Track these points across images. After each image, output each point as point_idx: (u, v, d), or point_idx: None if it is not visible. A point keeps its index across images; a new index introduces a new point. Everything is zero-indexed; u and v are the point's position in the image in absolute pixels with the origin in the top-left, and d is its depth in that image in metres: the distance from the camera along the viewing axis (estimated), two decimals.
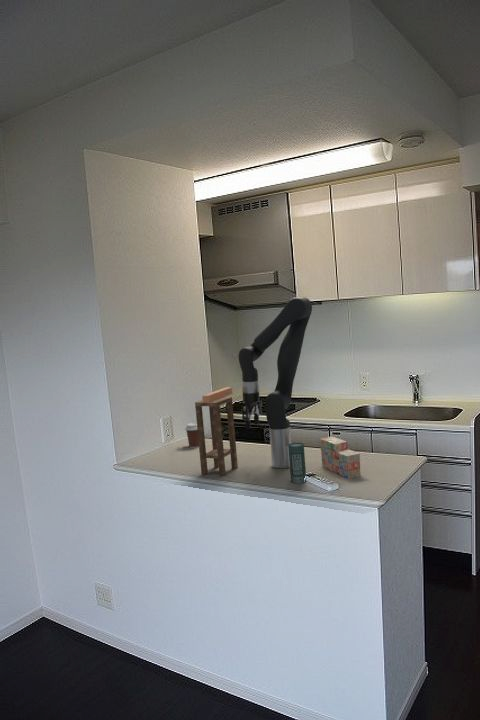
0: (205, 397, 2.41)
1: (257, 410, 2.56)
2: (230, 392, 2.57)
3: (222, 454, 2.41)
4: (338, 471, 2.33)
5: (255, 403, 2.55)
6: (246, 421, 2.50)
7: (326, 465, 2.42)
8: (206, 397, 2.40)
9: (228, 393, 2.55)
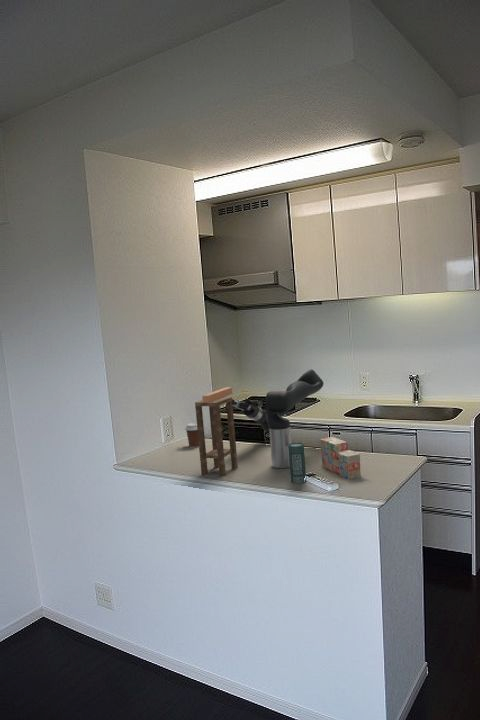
0: (205, 397, 2.41)
1: (239, 408, 2.72)
2: (230, 392, 2.57)
3: (222, 454, 2.41)
4: (338, 471, 2.32)
5: None
6: (251, 402, 2.66)
7: (326, 465, 2.41)
8: (206, 397, 2.40)
9: (228, 393, 2.55)
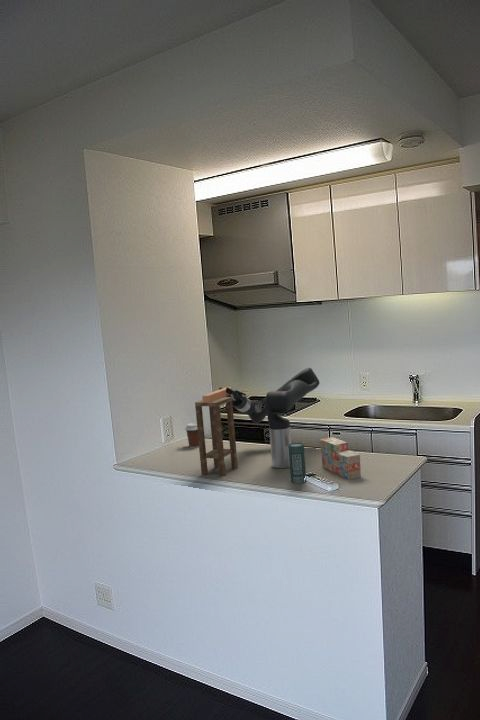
0: (205, 397, 2.41)
1: None
2: None
3: (222, 454, 2.41)
4: (338, 472, 2.32)
5: None
6: (232, 391, 2.56)
7: (326, 466, 2.41)
8: (206, 397, 2.40)
9: None
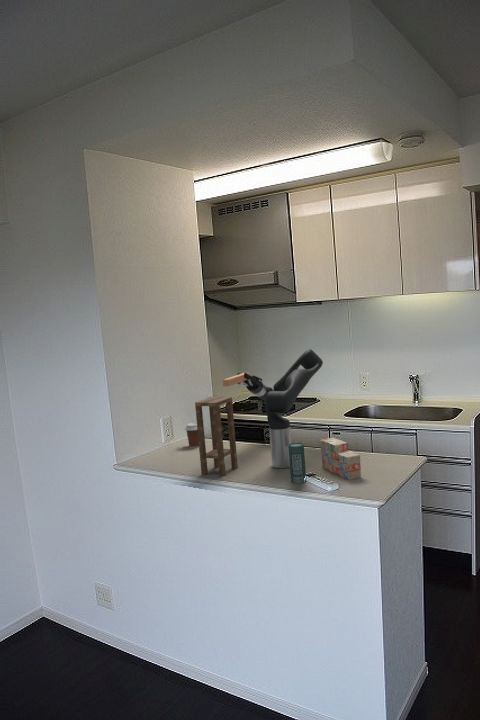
0: (225, 381, 2.56)
1: (245, 383, 2.76)
2: None
3: (222, 454, 2.41)
4: (338, 472, 2.31)
5: None
6: (249, 376, 2.71)
7: (326, 466, 2.40)
8: (226, 381, 2.56)
9: None
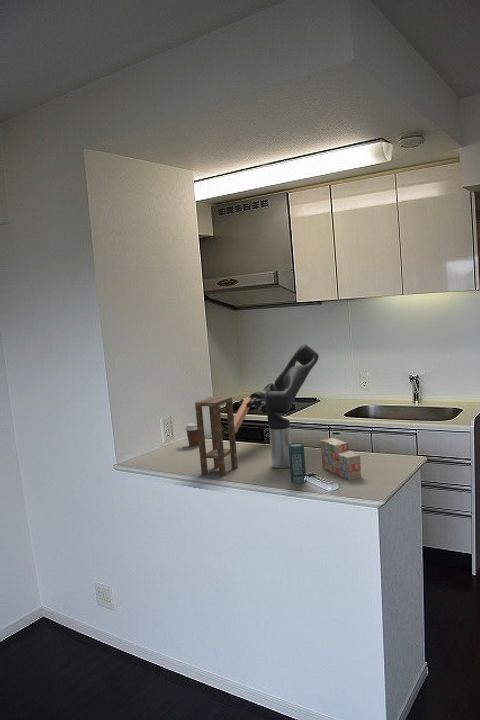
0: None
1: None
2: None
3: (222, 454, 2.41)
4: (338, 473, 2.31)
5: None
6: (252, 403, 2.73)
7: (326, 466, 2.40)
8: None
9: None
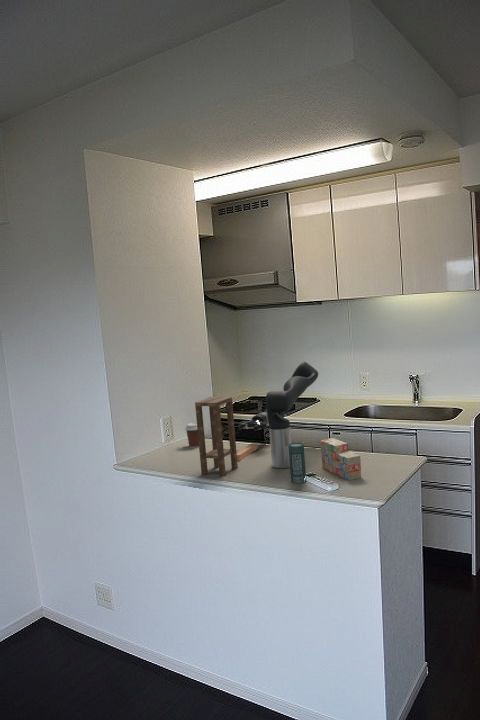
0: None
1: None
2: (256, 448, 2.81)
3: (222, 454, 2.41)
4: (338, 473, 2.30)
5: None
6: (259, 426, 2.74)
7: (326, 467, 2.39)
8: (237, 456, 2.64)
9: (254, 449, 2.79)
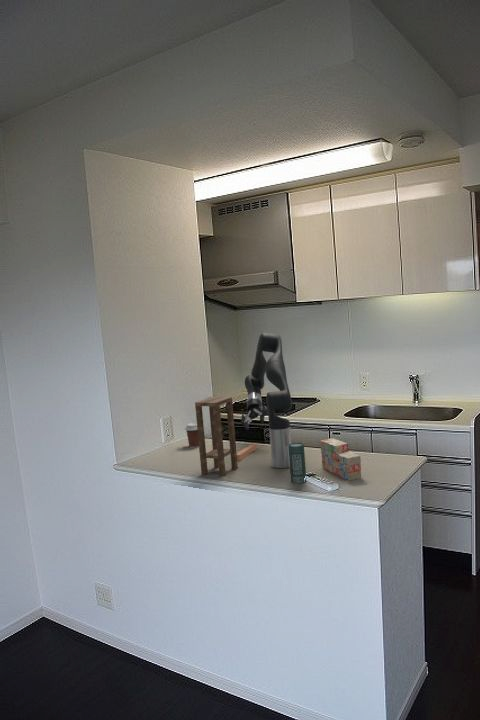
0: None
1: (252, 419, 2.84)
2: (256, 448, 2.81)
3: (222, 454, 2.41)
4: (338, 473, 2.30)
5: None
6: (263, 416, 2.78)
7: (326, 467, 2.39)
8: (237, 456, 2.64)
9: (254, 449, 2.79)
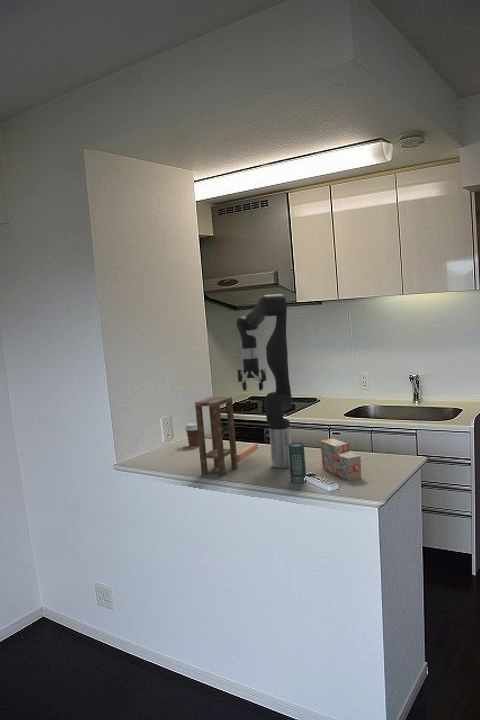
0: None
1: None
2: (256, 448, 2.81)
3: (222, 454, 2.41)
4: (338, 473, 2.30)
5: None
6: (262, 383, 2.73)
7: (326, 467, 2.39)
8: (237, 456, 2.64)
9: (254, 449, 2.79)
